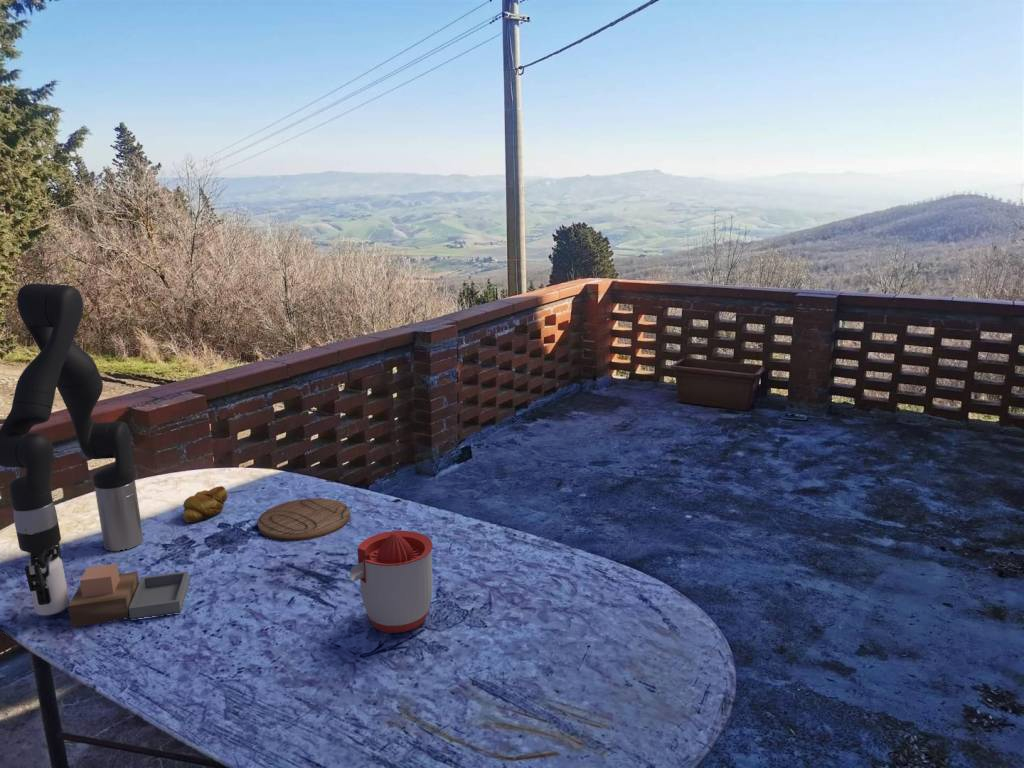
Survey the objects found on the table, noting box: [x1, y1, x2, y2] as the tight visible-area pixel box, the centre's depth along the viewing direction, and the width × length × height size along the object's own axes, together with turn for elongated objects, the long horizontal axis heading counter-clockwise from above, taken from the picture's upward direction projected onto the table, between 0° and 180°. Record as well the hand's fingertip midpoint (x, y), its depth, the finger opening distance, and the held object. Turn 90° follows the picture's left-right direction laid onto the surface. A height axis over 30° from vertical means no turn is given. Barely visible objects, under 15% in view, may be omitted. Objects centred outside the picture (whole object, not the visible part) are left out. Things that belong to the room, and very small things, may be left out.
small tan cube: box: [79, 563, 120, 597], centre depth 160 cm, size 6×6×4 cm
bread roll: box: [182, 485, 228, 523], centre depth 209 cm, size 13×10×8 cm
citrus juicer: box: [349, 530, 434, 634], centre depth 154 cm, size 16×17×20 cm
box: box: [129, 570, 191, 620], centre depth 165 cm, size 14×10×3 cm
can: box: [27, 553, 70, 617], centre depth 158 cm, size 6×6×12 cm
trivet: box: [257, 497, 351, 542], centre depth 206 cm, size 25×25×2 cm
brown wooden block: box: [67, 571, 140, 628], centre depth 161 cm, size 12×11×5 cm
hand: (50, 594), depth 158 cm, fingers closed on can, 6 cm apart
